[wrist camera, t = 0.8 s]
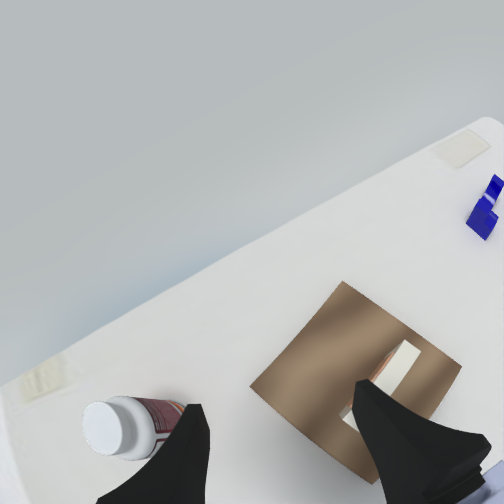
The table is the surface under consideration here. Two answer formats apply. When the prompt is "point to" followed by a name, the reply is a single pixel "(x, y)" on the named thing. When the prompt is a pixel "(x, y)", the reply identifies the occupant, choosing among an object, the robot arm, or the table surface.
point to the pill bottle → (129, 426)
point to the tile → (387, 375)
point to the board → (349, 374)
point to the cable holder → (486, 209)
